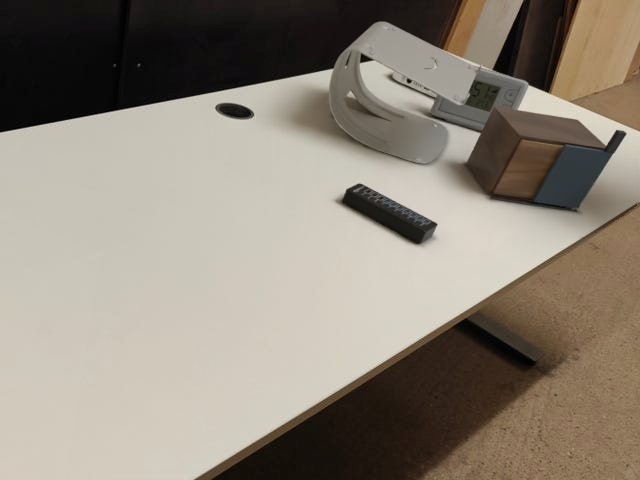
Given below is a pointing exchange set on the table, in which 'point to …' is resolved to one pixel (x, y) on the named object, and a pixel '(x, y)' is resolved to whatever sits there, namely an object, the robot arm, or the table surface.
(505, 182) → the cupboard
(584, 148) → the sliding door
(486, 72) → the digital clock
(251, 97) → the table surface
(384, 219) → the multiport hub
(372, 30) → the laptop stand
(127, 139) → the table surface
